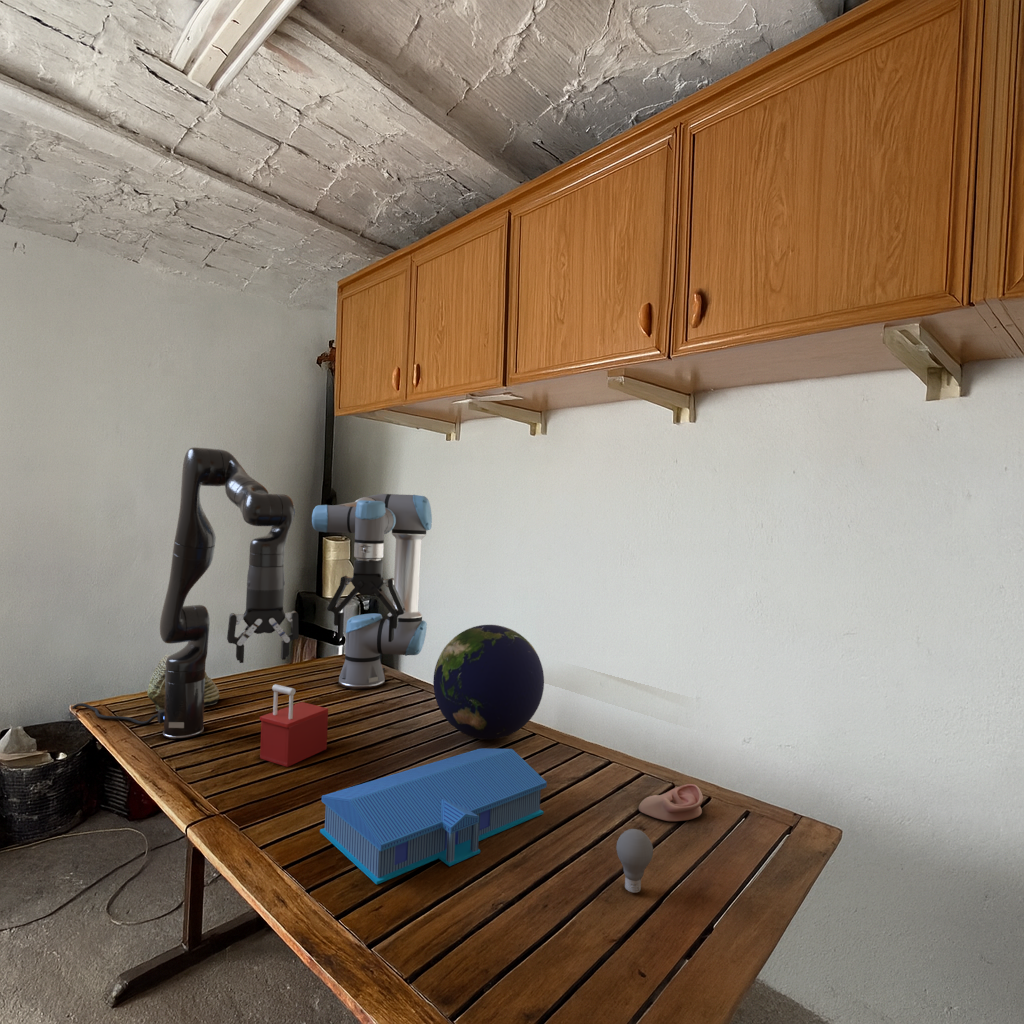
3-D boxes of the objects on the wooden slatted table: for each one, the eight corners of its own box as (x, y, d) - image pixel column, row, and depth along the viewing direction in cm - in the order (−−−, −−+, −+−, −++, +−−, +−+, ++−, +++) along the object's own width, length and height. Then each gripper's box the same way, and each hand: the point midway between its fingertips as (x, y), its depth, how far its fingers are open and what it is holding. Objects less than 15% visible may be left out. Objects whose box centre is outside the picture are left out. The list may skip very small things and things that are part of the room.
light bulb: (610, 879, 108) (613, 822, 108) (644, 879, 109) (647, 822, 109) (619, 902, 102) (622, 840, 102) (655, 901, 103) (658, 840, 103)
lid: (287, 727, 147) (288, 692, 147) (259, 720, 151) (260, 686, 151) (328, 711, 159) (329, 679, 158) (301, 705, 163) (302, 673, 163)
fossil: (144, 707, 182) (145, 655, 182) (212, 696, 194) (213, 647, 194) (151, 716, 175) (153, 662, 175) (221, 703, 188) (223, 653, 188)
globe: (409, 744, 164) (414, 628, 163) (461, 710, 191) (466, 611, 191) (517, 767, 152) (522, 643, 152) (556, 727, 180) (560, 623, 180)
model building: (386, 894, 102) (389, 832, 102) (318, 830, 120) (320, 778, 120) (555, 819, 128) (557, 770, 128) (478, 776, 146) (480, 733, 146)
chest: (287, 767, 147) (288, 727, 147) (259, 758, 152) (261, 719, 151) (326, 748, 159) (328, 712, 159) (300, 741, 163) (301, 705, 163)
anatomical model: (639, 798, 130) (639, 775, 142) (638, 817, 130) (638, 792, 142) (706, 807, 128) (701, 783, 139) (705, 826, 128) (700, 800, 139)
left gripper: (296, 582, 143) (293, 653, 144) (228, 584, 137) (225, 658, 137) (303, 588, 137) (299, 662, 137) (231, 589, 130) (227, 667, 130)
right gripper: (316, 558, 163) (313, 640, 164) (412, 562, 162) (409, 645, 163) (326, 555, 171) (323, 633, 171) (418, 559, 170) (415, 638, 170)
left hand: (262, 660), depth 137 cm, fingers open, 8 cm apart
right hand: (365, 639), depth 167 cm, fingers open, 13 cm apart
